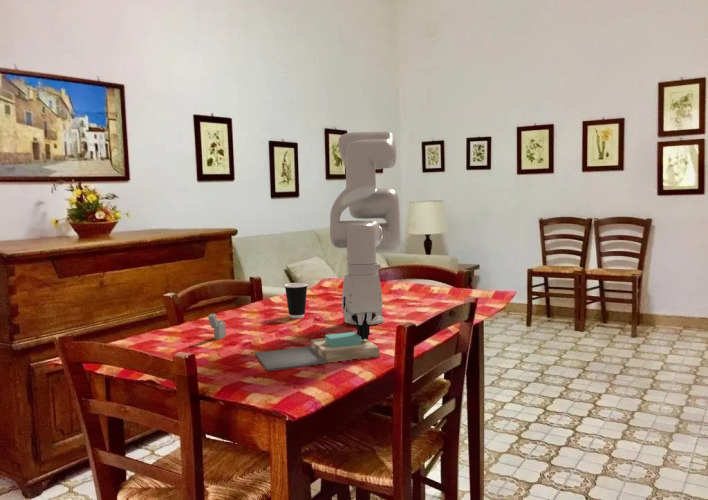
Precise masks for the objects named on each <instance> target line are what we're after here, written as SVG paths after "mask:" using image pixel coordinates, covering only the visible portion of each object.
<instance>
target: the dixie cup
mask: <svg viewBox="0 0 708 500" xmlns="http://www.w3.org/2000/svg"><path fill="white" fill-rule="evenodd" d="M283 285H284V286H283V287H284V288H285V295H286V302H287V309H288V315H289V318H291V319H301V318H304V317H305V314H306V306H307V305H306V303H307V290H308V286H309V284H308V283H307V282H306V283H305V282H290V283H286V284H283Z"/></svg>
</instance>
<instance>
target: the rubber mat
mask: <svg viewBox="0 0 708 500" xmlns="http://www.w3.org/2000/svg"><path fill="white" fill-rule="evenodd" d="M254 354H255V356H256V357H257V359H258V360H259V362H260V363H261V364H262V366H263V367H264V368H265V370H266V371H267V372H272V371H280V370H281V369H282V370H291V369H297V368H304V367H303V366H306V367H311V366H310V365H314V366H319V365H318V364H322V365H327V364H326V363H328V362H327V361H326V360H325V359H324V358H323V357H322V356H320V355H319V354H318V353H317V352H316V351H315V350H314V349H312V348H311V346H304V347H303V346H302V347H294V348H284V349H276V350H268V351H267V350H266V351H259V352H254ZM328 364H329V363H328Z"/></svg>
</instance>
